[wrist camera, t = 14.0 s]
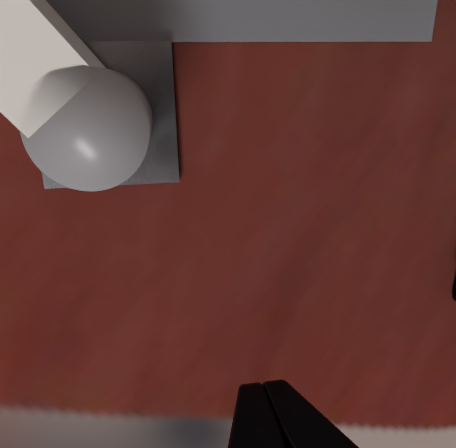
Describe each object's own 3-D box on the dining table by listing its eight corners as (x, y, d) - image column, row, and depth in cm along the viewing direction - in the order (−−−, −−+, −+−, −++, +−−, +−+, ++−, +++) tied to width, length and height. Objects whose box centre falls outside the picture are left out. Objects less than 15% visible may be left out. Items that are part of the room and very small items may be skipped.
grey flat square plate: (171, 42, 17) (171, 41, 16) (179, 180, 19) (179, 181, 18) (21, 42, 16) (17, 41, 16) (47, 186, 18) (44, 188, 18)
